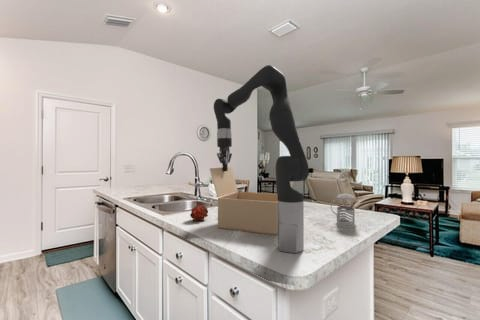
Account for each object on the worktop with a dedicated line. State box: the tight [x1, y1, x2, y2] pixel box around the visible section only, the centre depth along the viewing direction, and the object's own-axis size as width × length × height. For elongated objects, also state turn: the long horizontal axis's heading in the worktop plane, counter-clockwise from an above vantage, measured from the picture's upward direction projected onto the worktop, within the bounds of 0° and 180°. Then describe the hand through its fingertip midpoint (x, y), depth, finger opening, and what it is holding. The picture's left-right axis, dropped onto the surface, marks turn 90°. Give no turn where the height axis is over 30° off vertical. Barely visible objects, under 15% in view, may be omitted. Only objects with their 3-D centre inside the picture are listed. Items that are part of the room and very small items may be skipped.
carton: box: [217, 191, 278, 236], centre depth 117 cm, size 24×28×14 cm
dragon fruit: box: [189, 204, 209, 222], centre depth 126 cm, size 8×8×12 cm
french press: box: [330, 173, 358, 229], centre depth 116 cm, size 10×12×25 cm
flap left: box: [209, 166, 239, 198], centre depth 124 cm, size 23×14×1 cm
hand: (225, 171), depth 125 cm, fingers closed
